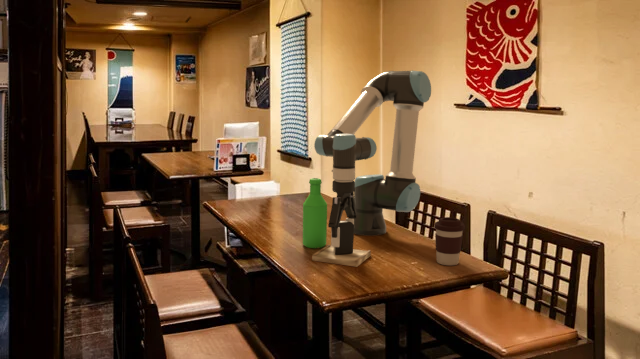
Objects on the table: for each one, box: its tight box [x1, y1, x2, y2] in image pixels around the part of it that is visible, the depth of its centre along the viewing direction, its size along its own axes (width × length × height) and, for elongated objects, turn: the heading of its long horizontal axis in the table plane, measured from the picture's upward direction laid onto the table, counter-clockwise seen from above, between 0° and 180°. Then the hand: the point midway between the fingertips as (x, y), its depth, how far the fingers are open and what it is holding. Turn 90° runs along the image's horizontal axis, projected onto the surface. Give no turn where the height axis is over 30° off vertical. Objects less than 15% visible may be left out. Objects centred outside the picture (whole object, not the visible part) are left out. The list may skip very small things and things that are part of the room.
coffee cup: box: [433, 216, 466, 267], centre depth 193 cm, size 10×10×15 cm
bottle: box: [302, 177, 328, 249], centre depth 210 cm, size 9×9×25 cm
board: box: [311, 244, 372, 268], centre depth 197 cm, size 14×16×2 cm
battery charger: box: [334, 219, 355, 255], centre depth 197 cm, size 7×4×11 cm, turn 110°
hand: (342, 241), depth 197 cm, fingers open, 13 cm apart
